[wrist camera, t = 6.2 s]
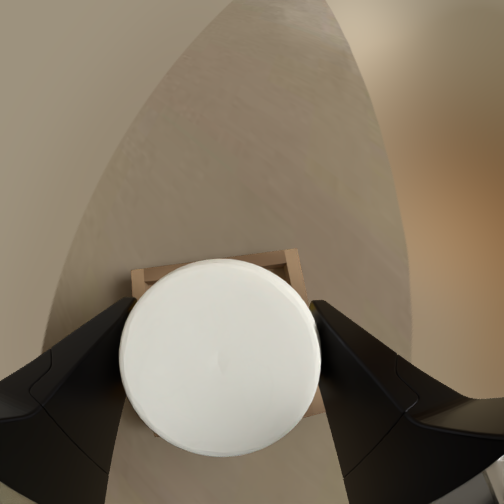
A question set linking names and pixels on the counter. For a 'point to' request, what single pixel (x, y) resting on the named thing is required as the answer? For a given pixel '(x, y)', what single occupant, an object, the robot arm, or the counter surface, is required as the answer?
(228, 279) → the supplement bottle
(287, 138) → the counter surface
